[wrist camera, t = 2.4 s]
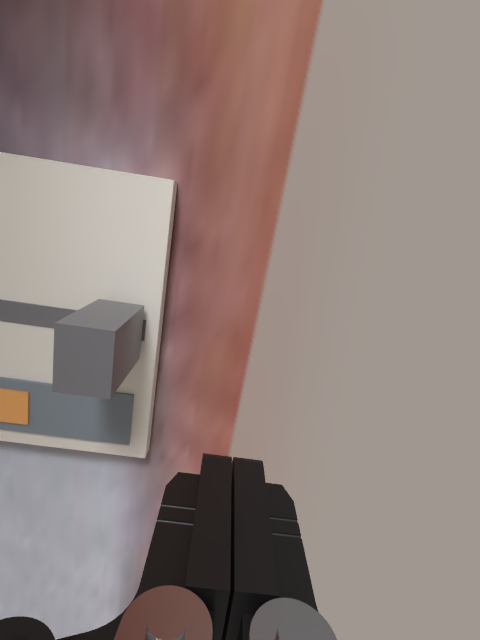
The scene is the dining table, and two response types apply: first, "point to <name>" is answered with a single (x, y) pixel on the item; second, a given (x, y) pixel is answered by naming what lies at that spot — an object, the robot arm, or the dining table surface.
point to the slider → (96, 348)
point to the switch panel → (78, 295)
